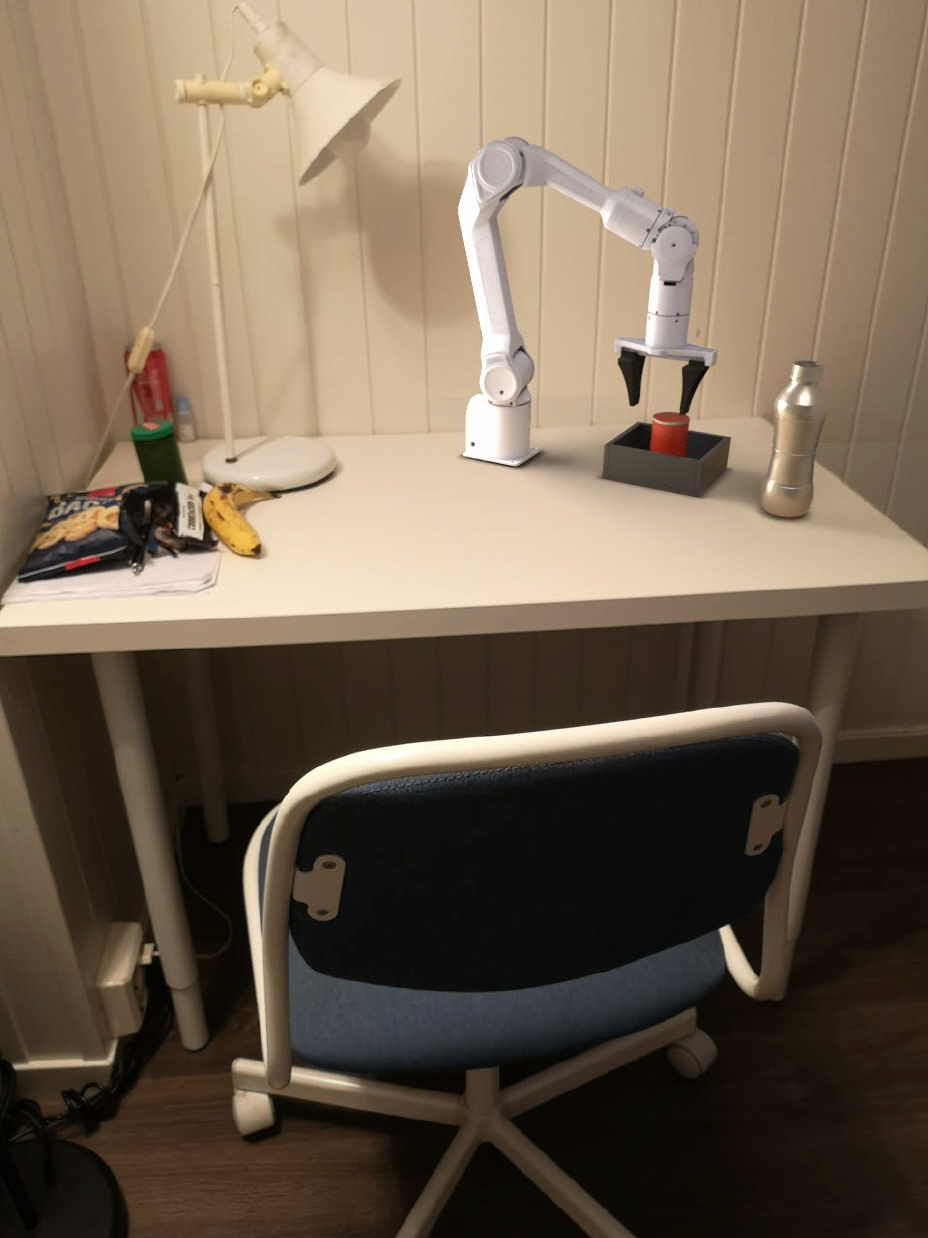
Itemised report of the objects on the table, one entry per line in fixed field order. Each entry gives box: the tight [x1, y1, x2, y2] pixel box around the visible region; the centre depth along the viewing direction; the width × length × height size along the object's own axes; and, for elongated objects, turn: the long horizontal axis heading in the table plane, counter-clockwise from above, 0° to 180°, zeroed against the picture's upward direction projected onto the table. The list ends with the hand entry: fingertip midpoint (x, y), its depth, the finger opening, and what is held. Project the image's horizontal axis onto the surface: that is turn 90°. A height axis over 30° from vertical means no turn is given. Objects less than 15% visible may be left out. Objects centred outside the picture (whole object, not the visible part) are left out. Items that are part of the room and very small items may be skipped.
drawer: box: [601, 421, 732, 498], centre depth 143 cm, size 15×13×5 cm
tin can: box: [650, 411, 691, 457], centre depth 142 cm, size 5×5×8 cm
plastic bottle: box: [760, 359, 829, 518], centre depth 126 cm, size 6×7×20 cm
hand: (658, 408), depth 141 cm, fingers open, 7 cm apart
